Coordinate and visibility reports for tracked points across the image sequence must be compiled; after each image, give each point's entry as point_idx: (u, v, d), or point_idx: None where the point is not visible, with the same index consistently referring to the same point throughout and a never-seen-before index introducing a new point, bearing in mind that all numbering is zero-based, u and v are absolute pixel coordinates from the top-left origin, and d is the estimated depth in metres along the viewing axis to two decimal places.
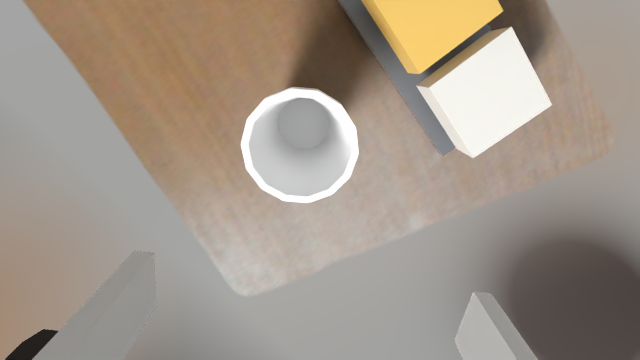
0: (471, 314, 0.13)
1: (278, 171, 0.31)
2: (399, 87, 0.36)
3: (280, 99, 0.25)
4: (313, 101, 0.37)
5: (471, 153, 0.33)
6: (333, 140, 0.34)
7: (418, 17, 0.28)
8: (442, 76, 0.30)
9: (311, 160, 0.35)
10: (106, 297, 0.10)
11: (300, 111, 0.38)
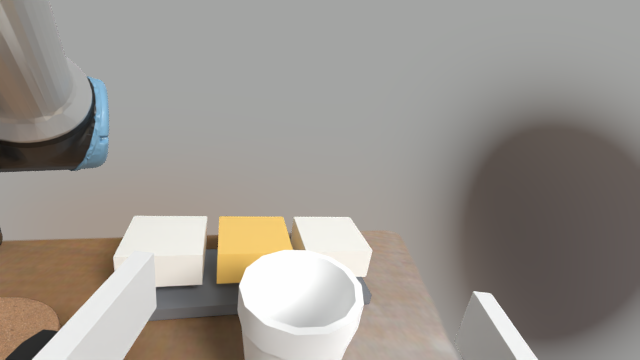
0: (471, 314, 0.13)
1: None
2: None
3: (249, 277, 0.25)
4: None
5: (368, 250, 0.41)
6: None
7: (256, 241, 0.39)
8: (303, 247, 0.40)
9: None
10: (106, 297, 0.10)
11: None
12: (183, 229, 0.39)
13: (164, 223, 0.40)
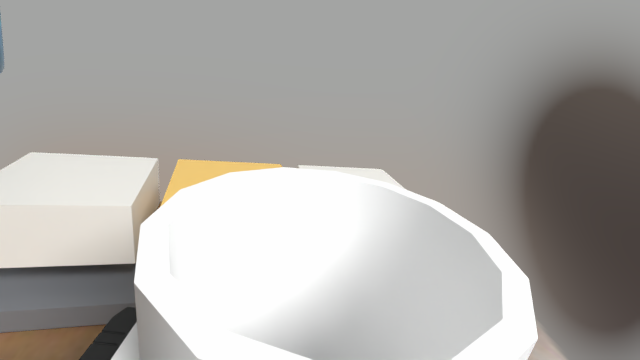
0: None
1: None
2: None
3: (181, 207, 0.09)
4: None
5: None
6: None
7: None
8: None
9: None
10: None
11: None
12: (110, 171, 0.23)
13: (79, 163, 0.24)
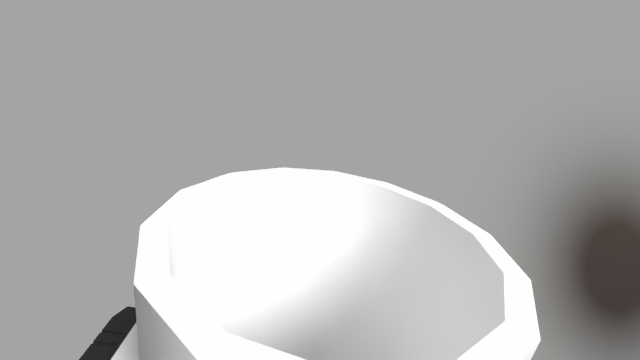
0: None
1: None
2: None
3: (181, 208, 0.09)
4: None
5: None
6: None
7: None
8: None
9: None
10: None
11: None
12: None
13: None
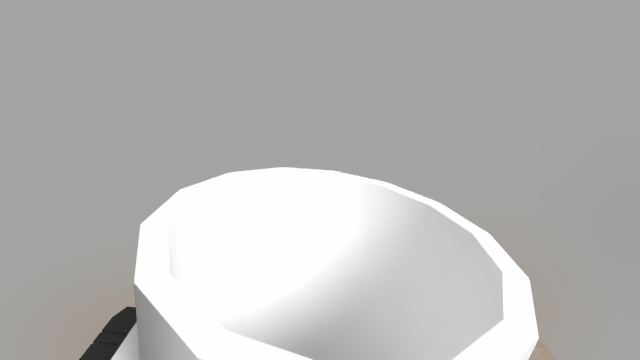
0: None
1: None
2: None
3: (181, 207, 0.09)
4: None
5: None
6: None
7: None
8: None
9: None
10: None
11: None
12: None
13: None
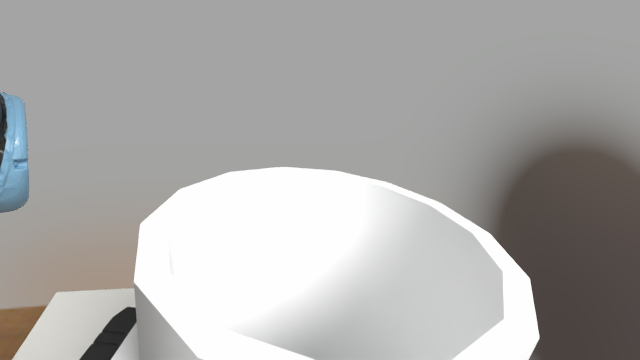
0: None
1: None
2: None
3: (181, 207, 0.09)
4: None
5: None
6: None
7: None
8: None
9: None
10: None
11: None
12: None
13: (97, 304, 0.28)
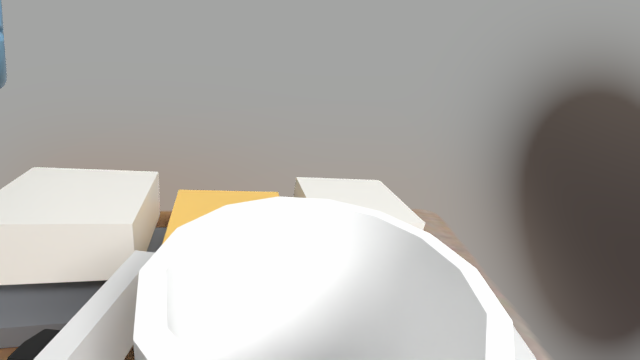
0: None
1: None
2: None
3: (178, 249, 0.09)
4: None
5: (418, 222, 0.25)
6: None
7: None
8: None
9: None
10: (107, 297, 0.10)
11: None
12: (111, 187, 0.23)
13: (81, 178, 0.24)
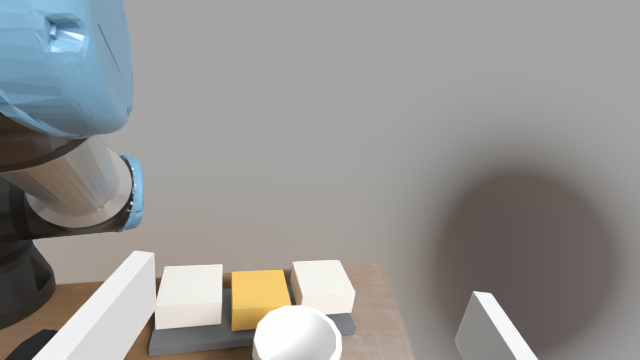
0: (471, 314, 0.13)
1: None
2: None
3: (260, 331, 0.35)
4: None
5: (352, 292, 0.51)
6: None
7: (262, 296, 0.50)
8: (300, 290, 0.51)
9: None
10: (106, 297, 0.10)
11: None
12: (205, 278, 0.50)
13: (189, 273, 0.50)
